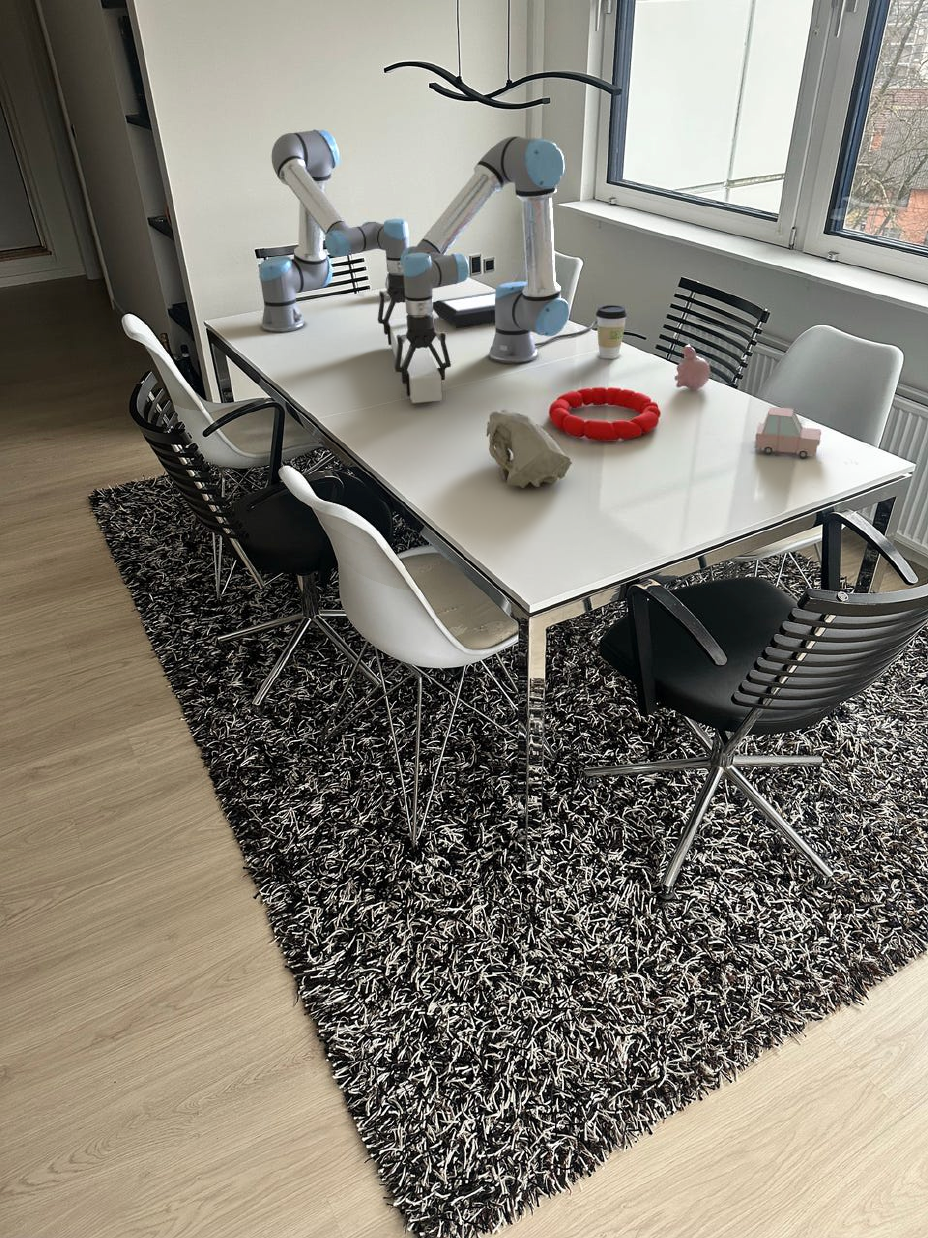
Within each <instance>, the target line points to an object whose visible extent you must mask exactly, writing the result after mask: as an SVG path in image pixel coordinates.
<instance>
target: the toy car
mask: <svg viewBox="0 0 928 1238" xmlns="http://www.w3.org/2000/svg"><path fill="white" fill-rule="evenodd" d="M821 435H822V430H821V428H812V427H811V428H810V427H803V426H802V422H801V421H800V419H799V418H798V415H797V413H796V411H795V410H794V408H789V407H788V408H787V407H779V406H778V407H777V406H770V407H769V410H768V412H767V414H766V417H765V420H764V422H759V423H758V424H757V428H756V432H755V441H754V446H753V449H756V450H761V451H763V452H764V453H765V454H766V455H771V454H772V453H773V452H783V453H792V454H796V455H798V456H799V458H800V459H805V458H807V456H816V454H817V450H818V446H820V445H821V444H820V443H821Z"/></svg>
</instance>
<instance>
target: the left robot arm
mask: <svg viewBox="0 0 928 1238" xmlns="http://www.w3.org/2000/svg"><path fill="white" fill-rule="evenodd" d="M270 157H271V163H272V164H271V165H272V168H273V171H274V173H275V175H276V176H277V179H279V181H280V182H281V183H282V184H283V185H285V186H288V187H289V188H290V190H291V191H292V193H293V194H294V195H295V196H296V197H297V199H298V201H299V211H298V213H299V215H298V243H297V244H298V246H296V247H294V249H293V258H291V257H290V256H288V255H278V256H272V257H269V258H266V259H265V260H263V261H261V262H260V264H259V266H258V275H259V276H258V277H259V281H260V287H261V292H262V293H261V294H262V299H263V313H262V319H261V326H262V330H264V331H265V332H271V333H286V332H293V331H296V330H297V331H298V330H300V329H302V328H304V326H305V319H304V317H303V314H302V312H301V310H300V307H299V306H298V305H299V304H298V303H297V295H296V294H301V293H305V292H308V291H313V290H314V291H315V290H320V289H321V288H324V287H327V286H328V285H329V284H330V283H331V280H332V278H333V265H332V260H331V258H330V257H329V256H328V255H327V253H328V254H329V255H330V256H331V257H333V258H340V257H347V256H350V255H354V254H358V253H364V252H368V251H374V250H382V251H385V260H386V261H385V262H386V272H388V273H387V275H386V277H388V289H386V290H383V291H382V290H379V291H378V295H379V303H378V305H379V306H378V313H377V323H378V324H381V325H383V333H384V336H385V335H386V336H387V343H388V346H391V334H390V324H389V323H388V321H389V319H391V316H392V314H393V310H394V308H395V306H396V304H400V303H405V287H404V275H403V268H402V265H401V255H402V253H403V251H404V250H405V249H406V248H408V247H410V237H409V236H410V234H409V227H408V222H407V221H406V220H405V219H403V218H391V219H390V218H389V219H387V220H385V221H384V222H383V223H380V222H377V221H365V222H364V223H362V225H359V226H354V227H350V226H349V225H348V223H347V222H346V221H345V220H344V219H343V217H342V216H341V215H340V213H339V212H338V210H337V209H336V207H335V206H334V205H333V203H332V202H331V201H330V200H329V199H328V197H327V195H326V192H327V191H326V190H327V189H326V188H327V182H328V181H329V180H331V177H332V169H335V168H337V166H338V165H339V162H340V151H339V147H338V144H337V142H336V140H335V138H334V136H333V135H332V134H331V133H330V132H329V131H328V130H325V129H313V130H306V131H297V132H288V133H284V134H282V135H280V137H278V138H277V139H276V140H275V143H274V144H273V147H272V150H271V155H270ZM296 197H295V198H296ZM324 235H325V237H324ZM324 246H325V248H326V250H325V249H324ZM326 251H327V252H326ZM387 295H388V296H389V297H390V301H389V304H388V306H387V310H386V312H385V315H384V309H385V308H384V307H385V299H386V298H387ZM383 315H384V316H383Z"/></svg>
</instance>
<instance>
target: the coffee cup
mask: <svg viewBox="0 0 928 1238" xmlns="http://www.w3.org/2000/svg"><path fill="white" fill-rule="evenodd" d="M595 316H596V317H597V319H596V320H598V323H596V325H597V343H598V350H599V351H598V353H599V355H598V356H599V357H600V358H602V359H606V360H611V359H617V358H618V357H619V356H620V351H621V346H622V341H623V336H624V331H625V325H626V319H627V317H628V312H627V308H626V307H625V306H623V305H620V304H619V305H618V304H604V305H600V306H599V307H598V309H597V311H596V313H595Z"/></svg>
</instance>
